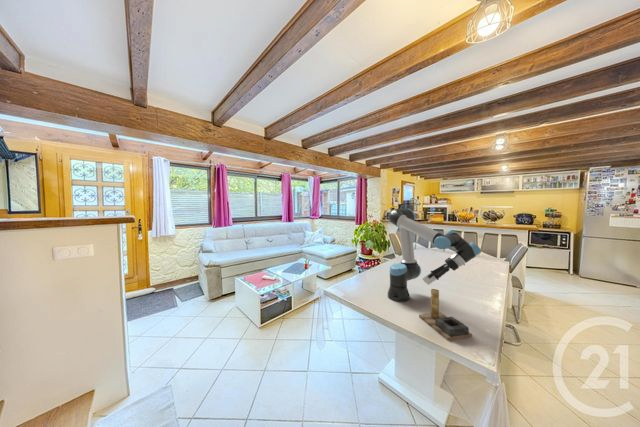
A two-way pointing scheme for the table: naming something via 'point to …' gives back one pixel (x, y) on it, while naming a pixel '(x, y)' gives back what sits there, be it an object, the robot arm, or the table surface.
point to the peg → (434, 303)
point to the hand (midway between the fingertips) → (425, 282)
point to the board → (432, 324)
